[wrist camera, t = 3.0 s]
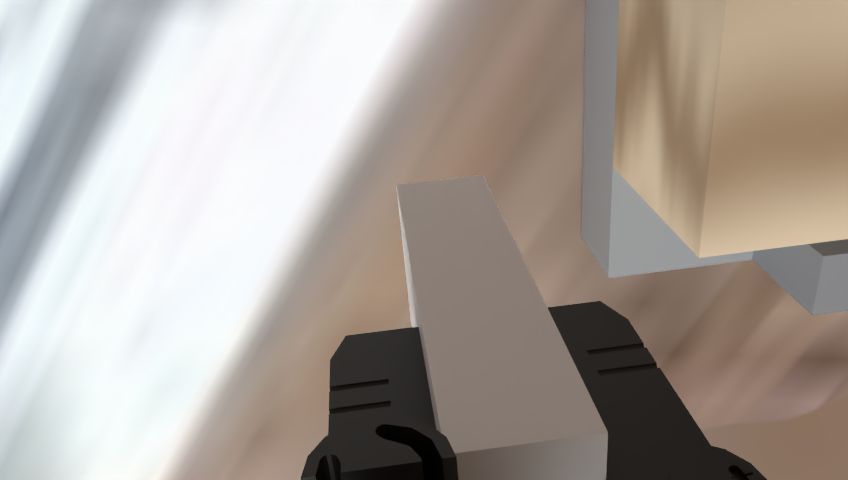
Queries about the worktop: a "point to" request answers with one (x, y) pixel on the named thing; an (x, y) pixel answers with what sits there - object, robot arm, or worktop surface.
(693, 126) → the block
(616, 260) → the grey tray
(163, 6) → the worktop surface
